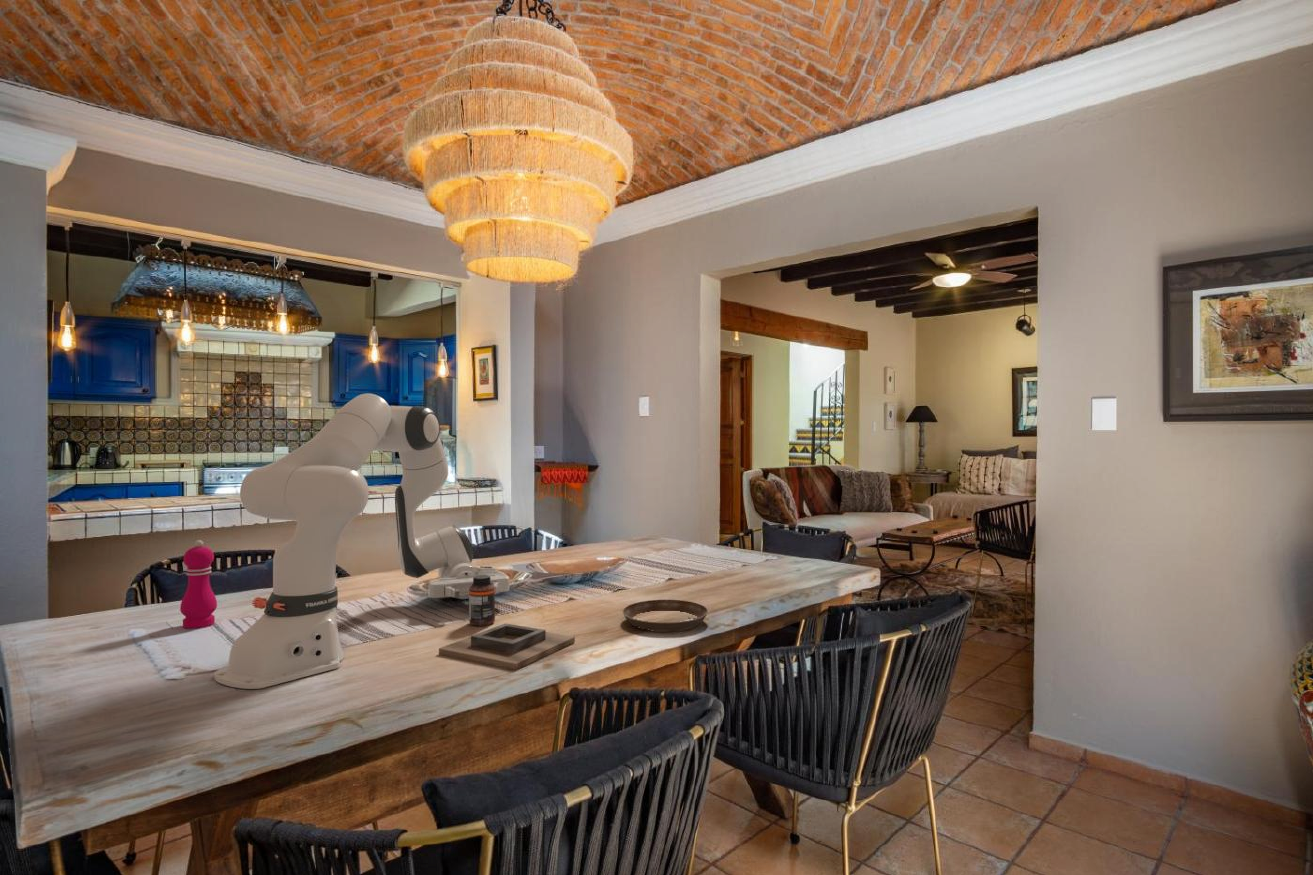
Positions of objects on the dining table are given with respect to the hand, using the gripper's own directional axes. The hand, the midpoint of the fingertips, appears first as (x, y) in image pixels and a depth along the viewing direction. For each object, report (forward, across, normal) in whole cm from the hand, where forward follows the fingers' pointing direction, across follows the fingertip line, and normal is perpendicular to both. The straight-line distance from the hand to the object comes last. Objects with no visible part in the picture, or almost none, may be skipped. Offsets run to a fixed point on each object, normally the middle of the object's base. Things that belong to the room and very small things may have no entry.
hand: (475, 591), depth 171 cm
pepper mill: (-22, -60, +7) cm, 64 cm away
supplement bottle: (+6, 0, +7) cm, 9 cm away
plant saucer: (+24, +40, +7) cm, 47 cm away
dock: (+28, +1, +6) cm, 28 cm away
